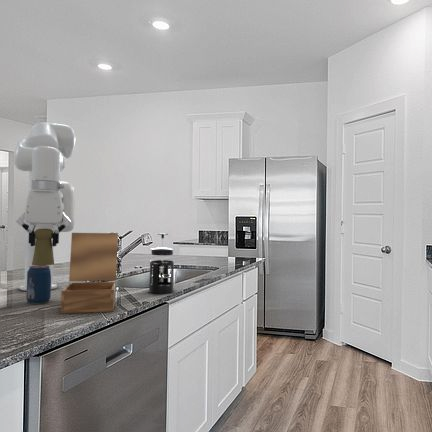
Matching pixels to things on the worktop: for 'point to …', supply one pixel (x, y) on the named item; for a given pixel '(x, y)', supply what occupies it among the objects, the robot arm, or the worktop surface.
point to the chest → (88, 297)
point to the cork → (43, 247)
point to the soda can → (38, 284)
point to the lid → (93, 257)
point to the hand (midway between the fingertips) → (43, 245)
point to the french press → (163, 286)
